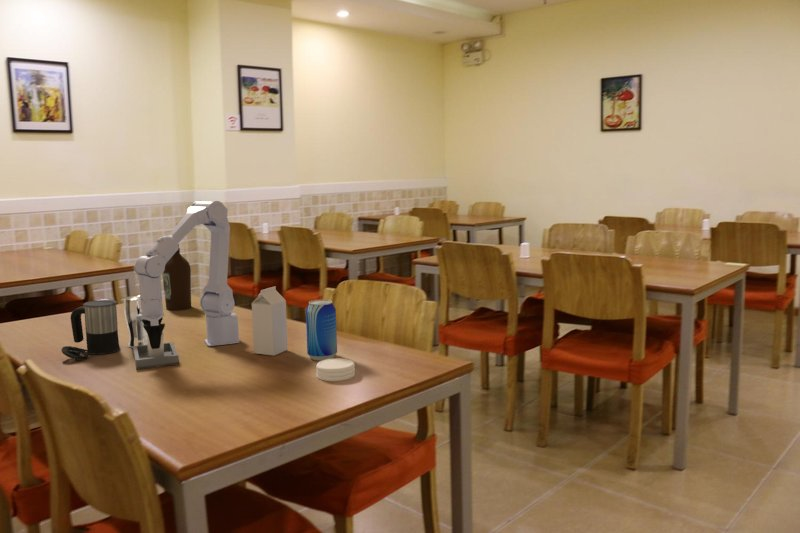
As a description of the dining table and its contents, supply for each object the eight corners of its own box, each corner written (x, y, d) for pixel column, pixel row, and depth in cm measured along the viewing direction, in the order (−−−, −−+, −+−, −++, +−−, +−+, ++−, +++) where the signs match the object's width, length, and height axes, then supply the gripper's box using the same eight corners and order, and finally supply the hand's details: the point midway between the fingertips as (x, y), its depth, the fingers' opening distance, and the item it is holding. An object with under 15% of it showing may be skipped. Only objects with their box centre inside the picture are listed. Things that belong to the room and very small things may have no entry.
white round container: (319, 370, 178) (319, 357, 178) (356, 370, 178) (356, 357, 177) (313, 382, 168) (313, 369, 168) (353, 382, 168) (352, 368, 168)
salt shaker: (163, 354, 193) (163, 327, 192) (164, 358, 189) (163, 330, 188) (147, 355, 191) (146, 328, 190) (147, 359, 187) (146, 331, 186)
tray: (173, 350, 199) (172, 341, 199) (178, 364, 185) (178, 355, 185) (133, 355, 195) (133, 346, 195) (136, 369, 181) (135, 360, 180)
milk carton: (288, 350, 198) (285, 287, 195) (273, 356, 192) (271, 291, 189) (268, 347, 201) (265, 285, 198) (253, 353, 195) (250, 289, 192)
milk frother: (124, 346, 206) (120, 298, 203) (111, 360, 190) (107, 309, 188) (74, 349, 203) (70, 301, 201) (58, 363, 188) (53, 312, 185)
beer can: (324, 362, 184) (323, 306, 182) (301, 358, 189) (299, 303, 187) (343, 355, 192) (341, 300, 189) (320, 351, 196) (318, 298, 194)
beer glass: (142, 348, 202) (139, 300, 200) (122, 347, 203) (118, 299, 201) (155, 342, 209) (152, 295, 206) (135, 342, 210) (132, 295, 208)
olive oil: (187, 303, 269) (184, 242, 265) (196, 308, 260) (192, 244, 257) (161, 307, 263) (156, 244, 259) (169, 311, 254) (164, 246, 251)
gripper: (134, 295, 192) (138, 341, 194) (137, 304, 179) (141, 353, 181) (160, 293, 195) (163, 338, 197) (165, 302, 182) (168, 350, 184)
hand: (154, 345), depth 189 cm, fingers open, 6 cm apart
